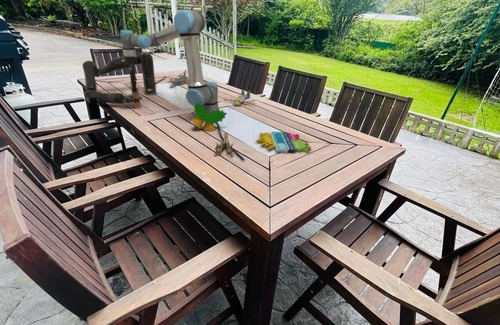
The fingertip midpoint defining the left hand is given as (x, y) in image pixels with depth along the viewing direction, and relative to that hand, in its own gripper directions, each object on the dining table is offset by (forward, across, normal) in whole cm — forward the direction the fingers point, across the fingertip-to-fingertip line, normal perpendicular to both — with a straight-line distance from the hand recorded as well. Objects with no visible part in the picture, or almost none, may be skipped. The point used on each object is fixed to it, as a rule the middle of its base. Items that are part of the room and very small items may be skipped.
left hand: (140, 99), depth 189 cm
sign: (+95, -56, +6) cm, 110 cm away
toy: (+75, +25, +6) cm, 79 cm away
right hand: (-3, 0, -6) cm, 7 cm away
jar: (-3, 0, +6) cm, 7 cm away
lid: (-3, 0, -10) cm, 10 cm away
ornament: (+52, -37, +6) cm, 64 cm away
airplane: (+16, +80, +6) cm, 81 cm away
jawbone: (+61, -68, +6) cm, 92 cm away
